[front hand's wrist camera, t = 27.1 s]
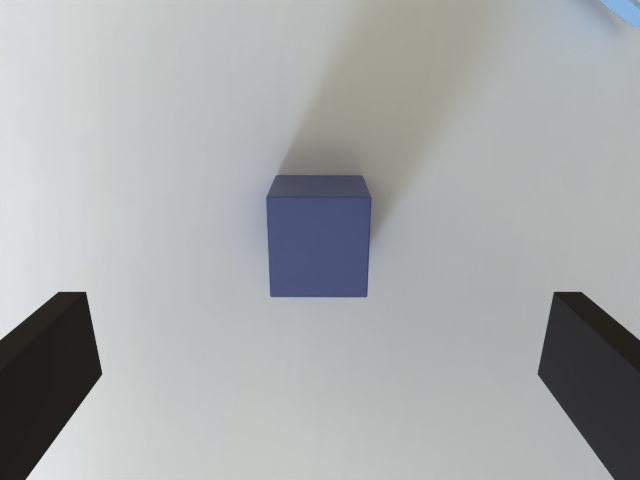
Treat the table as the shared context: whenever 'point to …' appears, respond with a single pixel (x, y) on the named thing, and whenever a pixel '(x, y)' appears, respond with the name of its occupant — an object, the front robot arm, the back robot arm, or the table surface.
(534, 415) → the table surface
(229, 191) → the table surface
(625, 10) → the clock
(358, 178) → the block
